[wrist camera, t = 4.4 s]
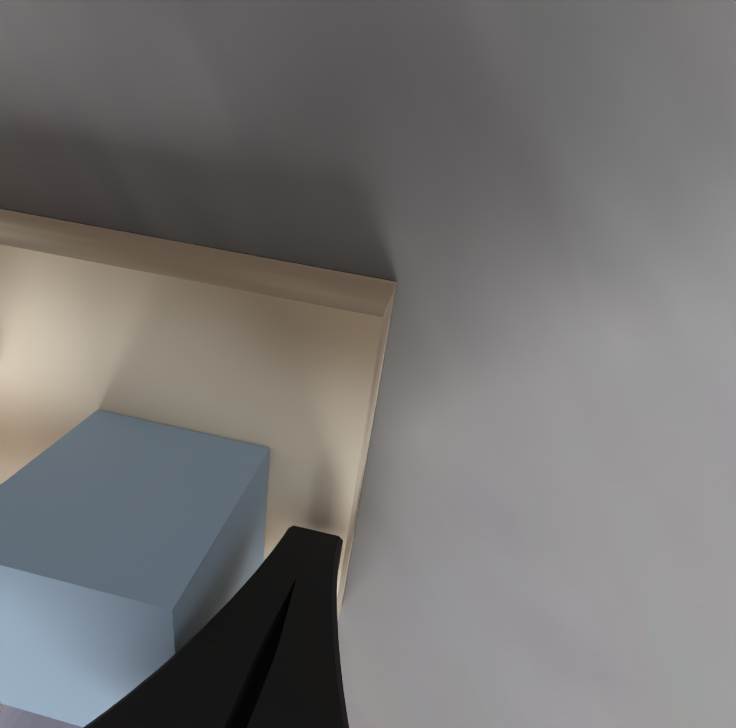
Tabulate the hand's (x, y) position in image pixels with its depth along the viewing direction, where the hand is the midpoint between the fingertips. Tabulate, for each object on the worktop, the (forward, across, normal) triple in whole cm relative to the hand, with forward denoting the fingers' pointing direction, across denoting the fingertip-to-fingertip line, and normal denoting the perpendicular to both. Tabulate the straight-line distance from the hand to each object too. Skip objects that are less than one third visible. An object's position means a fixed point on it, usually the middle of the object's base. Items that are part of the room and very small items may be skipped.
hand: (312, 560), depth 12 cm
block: (+1, +4, 0) cm, 4 cm away
